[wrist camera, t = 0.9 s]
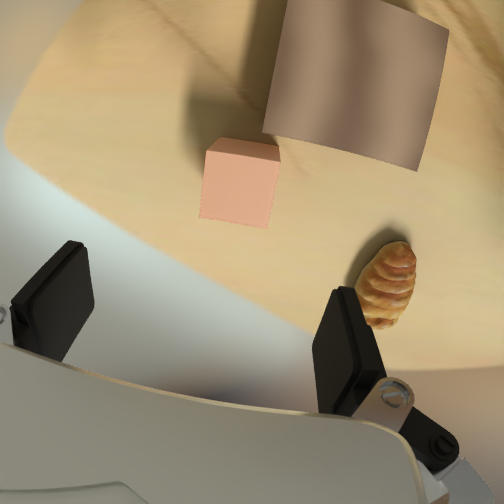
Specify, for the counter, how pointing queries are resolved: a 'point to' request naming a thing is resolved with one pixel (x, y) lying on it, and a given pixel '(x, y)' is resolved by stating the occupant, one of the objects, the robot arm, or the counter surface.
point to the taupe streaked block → (357, 78)
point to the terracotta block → (239, 182)
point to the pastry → (387, 284)
